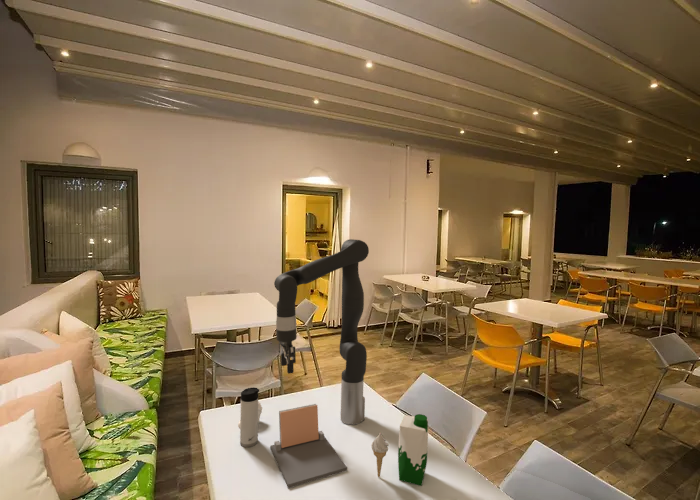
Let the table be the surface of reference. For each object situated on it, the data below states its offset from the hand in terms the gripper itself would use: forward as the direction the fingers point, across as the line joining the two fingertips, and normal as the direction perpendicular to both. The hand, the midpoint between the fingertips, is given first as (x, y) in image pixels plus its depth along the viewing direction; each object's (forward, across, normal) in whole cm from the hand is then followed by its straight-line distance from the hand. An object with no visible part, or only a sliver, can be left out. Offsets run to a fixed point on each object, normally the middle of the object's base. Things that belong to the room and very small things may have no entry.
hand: (287, 369), depth 139 cm
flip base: (+26, -18, -1) cm, 31 cm away
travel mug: (+25, 0, +15) cm, 29 cm away
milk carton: (+27, -40, -29) cm, 56 cm away
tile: (+24, -11, -1) cm, 26 cm away
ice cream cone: (+26, -36, -19) cm, 49 cm away
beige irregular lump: (+26, +12, +13) cm, 31 cm away
